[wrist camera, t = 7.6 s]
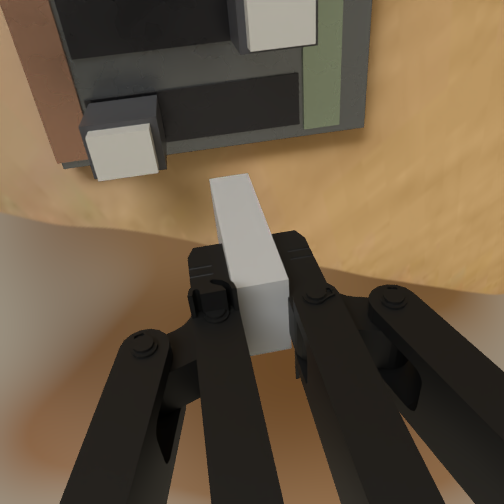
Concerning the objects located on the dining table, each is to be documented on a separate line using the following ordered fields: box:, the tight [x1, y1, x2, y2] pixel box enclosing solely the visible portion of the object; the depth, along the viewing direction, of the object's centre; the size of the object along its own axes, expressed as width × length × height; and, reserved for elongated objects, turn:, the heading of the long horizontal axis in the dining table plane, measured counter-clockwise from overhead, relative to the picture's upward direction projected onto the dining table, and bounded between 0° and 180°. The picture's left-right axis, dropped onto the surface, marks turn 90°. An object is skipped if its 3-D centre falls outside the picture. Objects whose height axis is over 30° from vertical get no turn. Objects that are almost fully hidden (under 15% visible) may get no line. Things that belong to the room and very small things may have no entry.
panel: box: [0, 0, 372, 169], centre depth 26 cm, size 20×16×2 cm
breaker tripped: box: [78, 95, 167, 181], centre depth 26 cm, size 4×3×5 cm
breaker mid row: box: [227, 0, 318, 55], centre depth 23 cm, size 4×3×5 cm
